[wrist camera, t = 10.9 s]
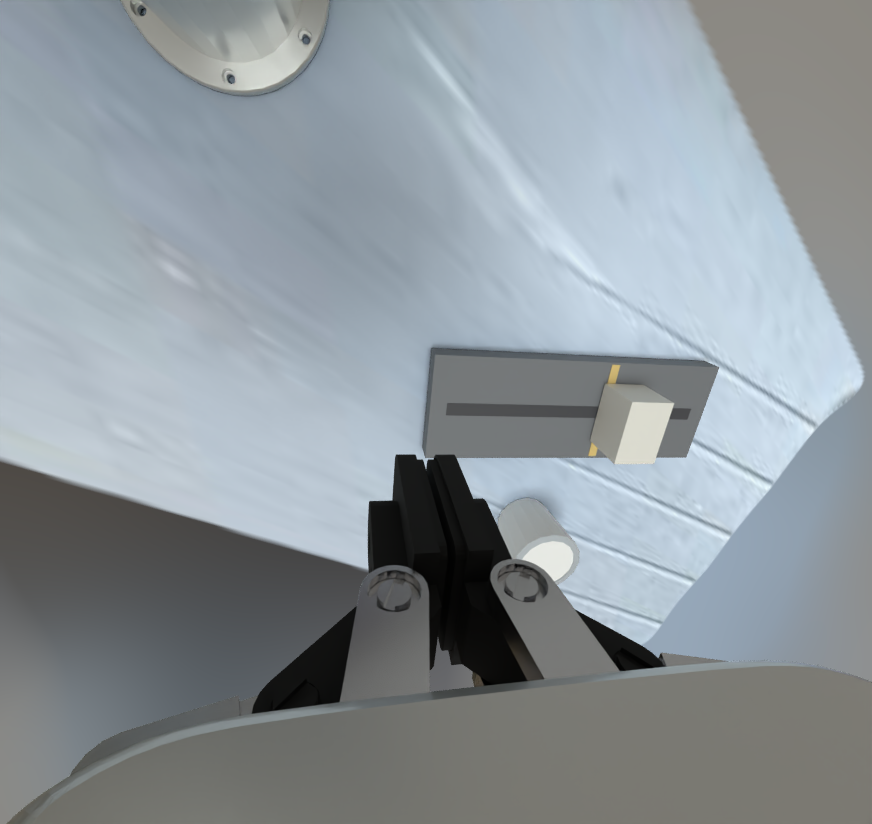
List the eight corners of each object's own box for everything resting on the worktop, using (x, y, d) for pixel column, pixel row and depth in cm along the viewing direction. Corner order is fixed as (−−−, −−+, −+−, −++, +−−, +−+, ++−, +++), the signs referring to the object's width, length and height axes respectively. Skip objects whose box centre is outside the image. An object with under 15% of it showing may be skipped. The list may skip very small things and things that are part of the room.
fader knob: (589, 440, 43) (614, 464, 39) (604, 383, 41) (632, 402, 37) (626, 440, 44) (653, 463, 40) (643, 384, 42) (674, 403, 38)
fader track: (422, 447, 43) (425, 458, 41) (431, 348, 39) (435, 354, 37) (673, 448, 48) (686, 457, 46) (704, 361, 44) (719, 367, 42)
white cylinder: (513, 484, 47) (538, 527, 40) (563, 504, 49) (593, 547, 43) (481, 533, 49) (499, 581, 42) (530, 550, 51) (555, 597, 45)
